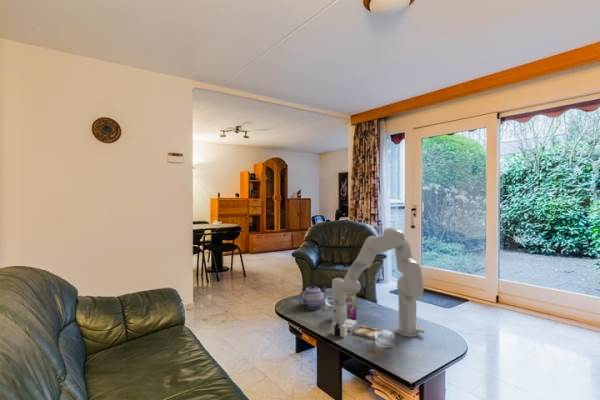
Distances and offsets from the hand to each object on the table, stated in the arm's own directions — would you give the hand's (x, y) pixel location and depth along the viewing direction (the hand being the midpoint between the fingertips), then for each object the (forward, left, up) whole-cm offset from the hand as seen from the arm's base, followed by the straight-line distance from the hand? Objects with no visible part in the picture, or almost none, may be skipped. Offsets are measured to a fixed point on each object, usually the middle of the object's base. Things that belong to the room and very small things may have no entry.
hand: (339, 333), depth 167 cm
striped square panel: (0, -11, 0) cm, 11 cm away
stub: (0, 0, -1) cm, 1 cm away
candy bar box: (+6, -23, -1) cm, 24 cm away
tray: (-13, -9, 0) cm, 16 cm away
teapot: (+34, -27, -1) cm, 44 cm away
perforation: (0, -4, 0) cm, 4 cm away
